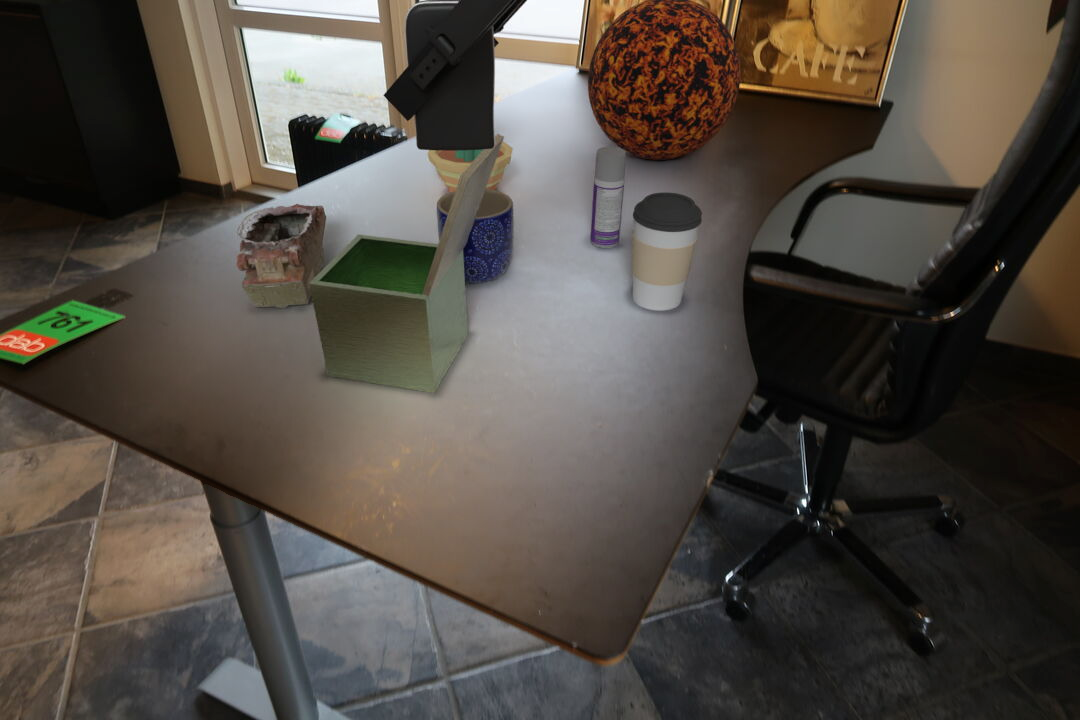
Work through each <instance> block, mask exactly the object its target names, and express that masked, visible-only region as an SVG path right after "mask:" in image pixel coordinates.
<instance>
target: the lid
mask: <svg viewBox="0 0 1080 720" xmlns="http://www.w3.org/2000/svg"><path fill="white" fill-rule="evenodd" d="M504 138H505V136H504V135H503V134H500V133H497V134H495V146H494V147H493V148H492V149H484V150H483V151H482V152H481V153H480V154H479V155H478V156H477V158H476V159H475V160H474V161H473V162H472V163H471V164H470V166H469V167H468V168H467V169H466V170H465V171H464V172H463V174H462V175H461V176H460V179H459V182H458V185H457V188H456V191H455V195H454V198H453V201H452V204H451V207H450V210H449V213H448V216H447V219H446V222H445V225H444V228H443V231H442V235H441V238H440V241H439V240H438V243H437V244H438V247H437V250H436V253H435V256H434V259H433V262H432V265H431V268H430V271H429V274H428V278H427V281H426V284H425V287H424V290H423V293H422V294H424V295H426V296H430V295H431V293H432V292H433V290H434V289H435V288H436V286H437V285H438V283H439V282H440V280H441V279H442V278H443V276H444V275H445V273H446V272H447V271H448V269H449V268H450V266H451V265H452V264H453V262H454V261H455V259H456V258H457V256H458V255H459V254H460V252H461V251H462V249H463V248H464V247H465V245H466V243H467V240H468V237H469V234H470V232H471V229H472V226H473V223H474V220H475V218H476V215H477V212H478V209H479V206H480V203H481V201H482V198H483V195H484V192H485V189H486V187H487V184H488V181H489V178H490V175H491V172H492V170H493V167H494V164H495V161H496V158H497V156H498V153H499V150H500V147H501V144H502V141H503V142H504Z"/></svg>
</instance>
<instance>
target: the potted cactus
mask: <svg viewBox="0 0 1080 720" xmlns="http://www.w3.org/2000/svg"><path fill="white" fill-rule="evenodd" d="M483 150H484V149H482V150H459V151H445V150H427V153H426V154H427V157H428V161H429V163H431V164H432V165H433V167H434V168H435V170H436V172H437V175H438V177H439V178H440V180H441V181H442V182H443V183H444V185H445V186H446V187H447V189H448V191H447V193H450V192H453V191H456V188H457V185H458V182H459V179H460V176H461V175H462V174H463V172H464V171H465V170H466V169H467V168H468V167H469V166H470V164H471V163H472V162H473V161H474V160H475V159H476V158H477V156H478V155H479V154H480V153H481V152H482V151H483ZM513 150H514V148H513V147H512V146H511V145H510V144H507V143H506V142H505V141H504V140H503V141H502V144H501V147H500V150H499V153H498V156H497V158H496V161H495V164H494V167H493V170H492V172H491V175H490V178H489V181H488V184H487V187H486V189H491V190H496V191H497V186H498V185H499V184H500V182H501V181H502V179H503V176H504V173H505V170H506V167H507V166H508V165H510V163H511V159H512V154H513Z"/></svg>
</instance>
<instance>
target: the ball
mask: <svg viewBox="0 0 1080 720" xmlns="http://www.w3.org/2000/svg"><path fill="white" fill-rule="evenodd" d="M741 74H742V73H741V61H740V55H739V51H738V48H737V45H736V42H735V40H734V37H733V36H732V33H731V32H730V30H729V29H728V27H727V25H726V24H725V23H724V22H723V20H722V19H721V18H720V17H719V16H718V15H716V14H715V13H714V12H713V11H712V10H710V9H709V8H708V7H707V6H704V5H703V4H701V3H699V2H696V1H693V0H644V1H641V2H639V3H637V4H635V5H633V6H631V7H630V8H628V9H626V10H625V11H624V12H622V13H621V14H619V15H618V16H617V17H616V18H615V19H614V20H613V21H612V22H611V23H610V24H609V25H608V26H607V28H606V29H605V31H604V32H603V34H602V35H601V37H600V38H599V40H598V42H597V44H596V46H595V48H594V50H593V54H592V56H591V59H590V63H589V68H588V74H587V92H588V94H587V95H588V99H589V105H590V109H591V112H592V114H593V116H594V118H595V121H596V122H597V124H598V127H600V129H601V130H602V133H604V135H605V136H606V137H607V138H608V139H609V140H610V141H611V142H612V143H613V144H615V145H616V147H618V148H621V149H623V150H625V151H626V153H628V154H631V155H633V156H635V157H638V158H642V159H647V160H654V161H655V160H656V161H663V160H665V161H666V160H672V159H676V158H681V157H683V156H686V155H688V154H691V153H693V152H695V151H697V150H699V149H700V148H702V147H704V145H706V144H707V143H709V142H710V141H711V140H712V139H713V138H714V137H715V136H716V135H717V134H718V133H719V132H720V131H721V129H722V128H723V127H724V125H725V124H726V122H727V121H728V119H729V118H730V116H731V114H732V113H733V110H734V107H735V105H736V102H737V100H738V96H739V92H740V85H741Z"/></svg>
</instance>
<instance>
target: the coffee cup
mask: <svg viewBox="0 0 1080 720" xmlns="http://www.w3.org/2000/svg"><path fill="white" fill-rule="evenodd" d="M633 209H634V210H633V213H632V217H633V220H634V221H633V226H634V227H633V229H632V248H631V253H632V254H631V273H632V300H633V302H634V304H636V305H637V306H639V307H641V308H643V309H645V310H651V311H657V312H659V311H661V312H663V311H670V310H673V309H675V308H677V307H678V306H680V304H681V303H682V298H683V294H684V290H685V287H686V283H687V282H686V281H687V279H688V277H689V273H690V270H691V265H692V261H693V256H694V253H695V249H696V244H697V240H698V232H699V227H700V225H701V224H702V222H703V219H702V216H703V212H702V209H701V208H700V207H699V206H698V205H696V202H695V201H694V199H693V198H691V197H689V196H687V195H684V194H681V193H678V192H677V193H676V192H666V191H665V192H655V193H651V194H647V195H646V196H645V197H644V198H643V199H642V200H641V201H639V202H638V203H636V205H635V206H634V207H633Z"/></svg>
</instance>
